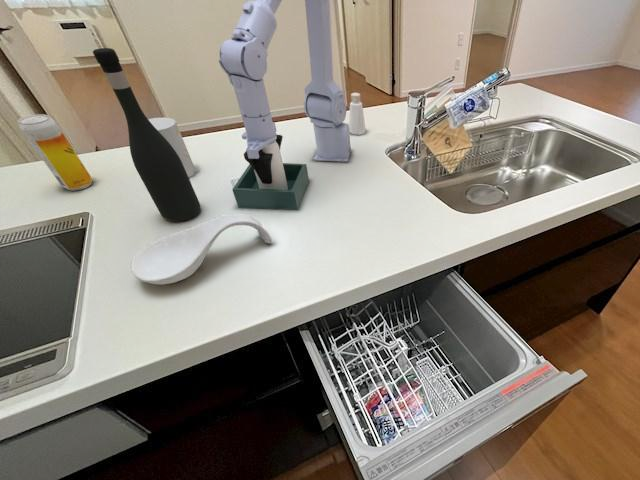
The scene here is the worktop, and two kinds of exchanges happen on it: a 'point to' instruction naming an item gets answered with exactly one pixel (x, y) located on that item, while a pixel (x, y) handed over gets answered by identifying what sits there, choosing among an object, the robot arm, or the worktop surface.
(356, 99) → the pepper shaker
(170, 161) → the wine bottle
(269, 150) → the can
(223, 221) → the spoon rest
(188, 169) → the cup
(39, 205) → the worktop surface
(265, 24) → the robot arm
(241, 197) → the box
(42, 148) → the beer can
